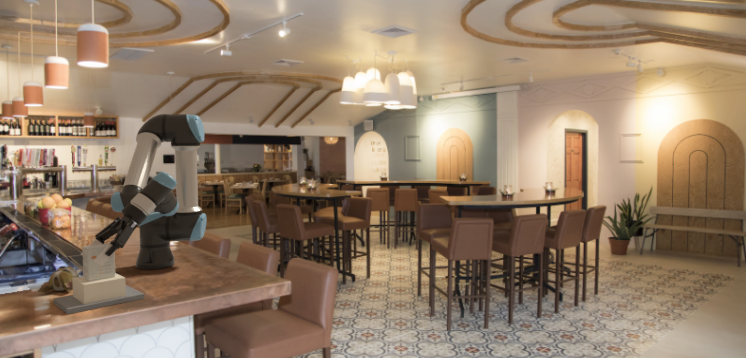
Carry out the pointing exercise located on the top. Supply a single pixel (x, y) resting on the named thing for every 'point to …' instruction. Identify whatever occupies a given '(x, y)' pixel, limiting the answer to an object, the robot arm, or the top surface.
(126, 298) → the pedestal
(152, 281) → the top surface
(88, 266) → the small box
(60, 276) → the ceramic sculpture
